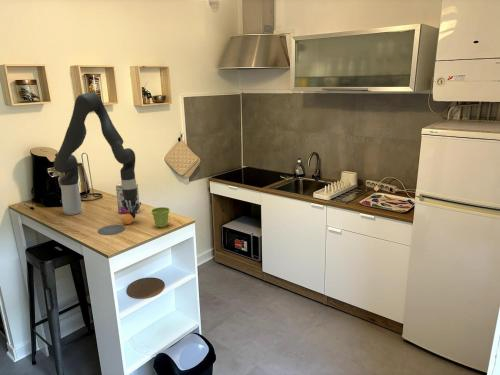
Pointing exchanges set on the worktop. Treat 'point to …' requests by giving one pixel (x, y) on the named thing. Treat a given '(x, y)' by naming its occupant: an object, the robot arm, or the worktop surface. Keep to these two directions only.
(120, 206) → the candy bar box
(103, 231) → the disc
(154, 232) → the worktop surface
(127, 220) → the ball
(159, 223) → the plant pot
